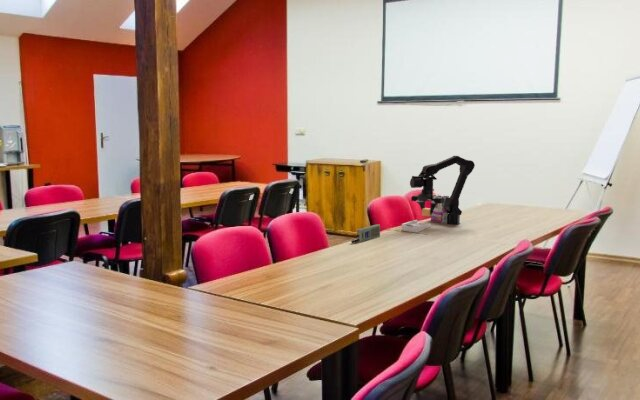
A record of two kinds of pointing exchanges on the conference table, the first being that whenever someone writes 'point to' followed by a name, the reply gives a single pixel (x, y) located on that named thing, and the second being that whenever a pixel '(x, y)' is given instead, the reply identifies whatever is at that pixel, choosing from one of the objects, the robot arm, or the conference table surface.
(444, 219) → the candy bar box
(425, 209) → the orange cube
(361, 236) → the handheld radio
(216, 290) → the conference table surface
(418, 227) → the white box
